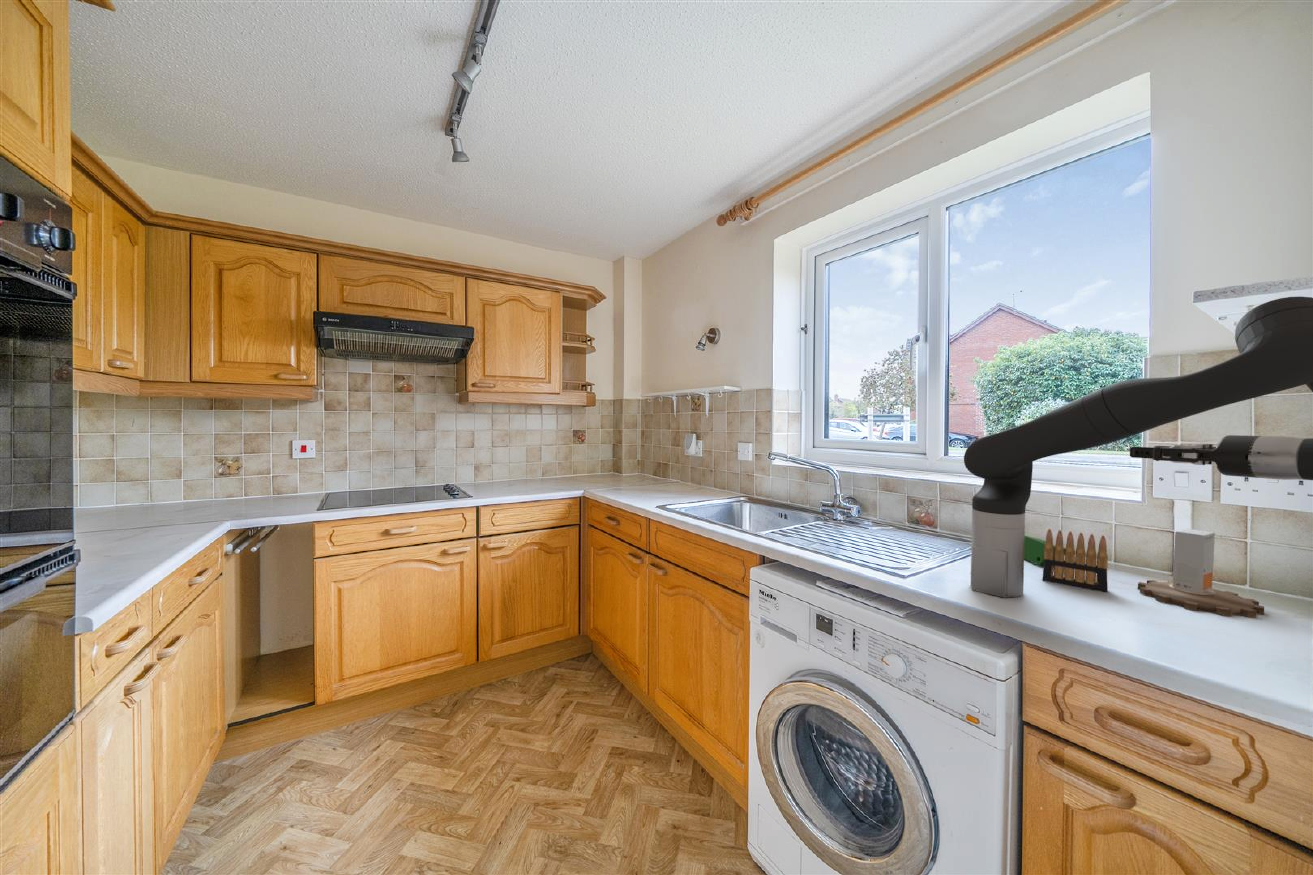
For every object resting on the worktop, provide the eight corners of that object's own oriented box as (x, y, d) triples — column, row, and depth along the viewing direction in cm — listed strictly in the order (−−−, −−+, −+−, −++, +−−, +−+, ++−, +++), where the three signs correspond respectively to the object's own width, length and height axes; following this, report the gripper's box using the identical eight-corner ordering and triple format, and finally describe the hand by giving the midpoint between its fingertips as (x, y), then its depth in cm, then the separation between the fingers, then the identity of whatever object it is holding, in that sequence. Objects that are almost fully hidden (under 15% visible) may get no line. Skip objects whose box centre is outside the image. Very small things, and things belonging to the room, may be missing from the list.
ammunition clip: (1107, 590, 100) (1109, 535, 100) (1107, 592, 99) (1109, 536, 98) (1043, 578, 108) (1044, 527, 107) (1042, 580, 106) (1043, 528, 106)
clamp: (1056, 583, 117) (1077, 556, 113) (1031, 576, 118) (1050, 549, 114) (1033, 553, 128) (1051, 527, 123) (1010, 547, 128) (1027, 521, 124)
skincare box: (1202, 594, 94) (1204, 535, 93) (1171, 587, 98) (1173, 531, 97) (1213, 589, 96) (1215, 532, 96) (1183, 583, 100) (1185, 528, 100)
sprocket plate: (1260, 624, 83) (1261, 617, 83) (1129, 596, 97) (1130, 589, 97) (1266, 603, 93) (1266, 596, 93) (1146, 580, 106) (1146, 574, 106)
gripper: (1283, 435, 85) (1162, 433, 100) (1244, 436, 80) (1123, 434, 95) (1281, 476, 85) (1160, 467, 101) (1242, 480, 80) (1122, 470, 96)
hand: (1142, 451), depth 98 cm, fingers open, 8 cm apart
